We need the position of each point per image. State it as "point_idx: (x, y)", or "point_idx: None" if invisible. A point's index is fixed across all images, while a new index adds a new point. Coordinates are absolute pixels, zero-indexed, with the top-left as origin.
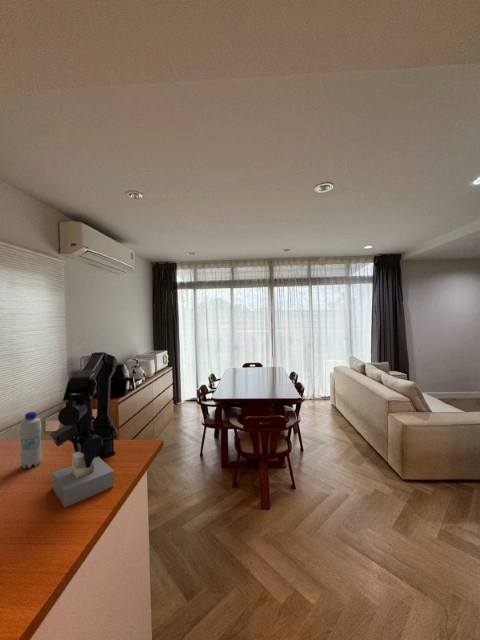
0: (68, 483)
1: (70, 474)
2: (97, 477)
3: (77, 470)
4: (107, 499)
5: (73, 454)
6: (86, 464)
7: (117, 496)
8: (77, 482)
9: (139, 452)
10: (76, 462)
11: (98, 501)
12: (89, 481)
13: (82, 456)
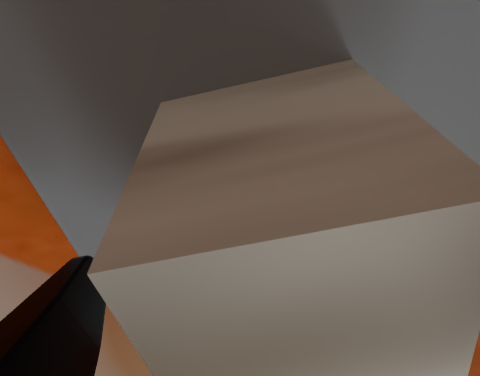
0: (55, 7)
1: (292, 38)
2: (79, 255)
3: (145, 148)
4: (21, 216)
5: (397, 225)
6: (33, 303)
7: (35, 257)
8: (45, 105)
9: None
10: (122, 210)
11: (16, 175)
12: (46, 197)
13: (144, 351)
